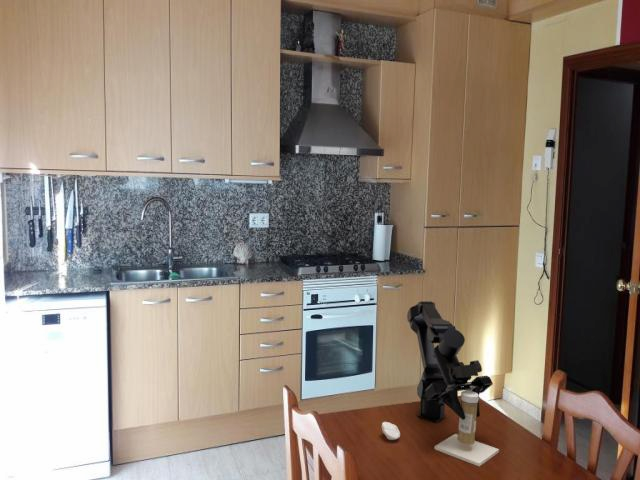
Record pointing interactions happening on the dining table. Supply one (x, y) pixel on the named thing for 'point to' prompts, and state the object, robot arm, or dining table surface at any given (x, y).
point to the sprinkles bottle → (468, 417)
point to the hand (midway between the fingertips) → (471, 417)
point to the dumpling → (390, 430)
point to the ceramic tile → (467, 450)
